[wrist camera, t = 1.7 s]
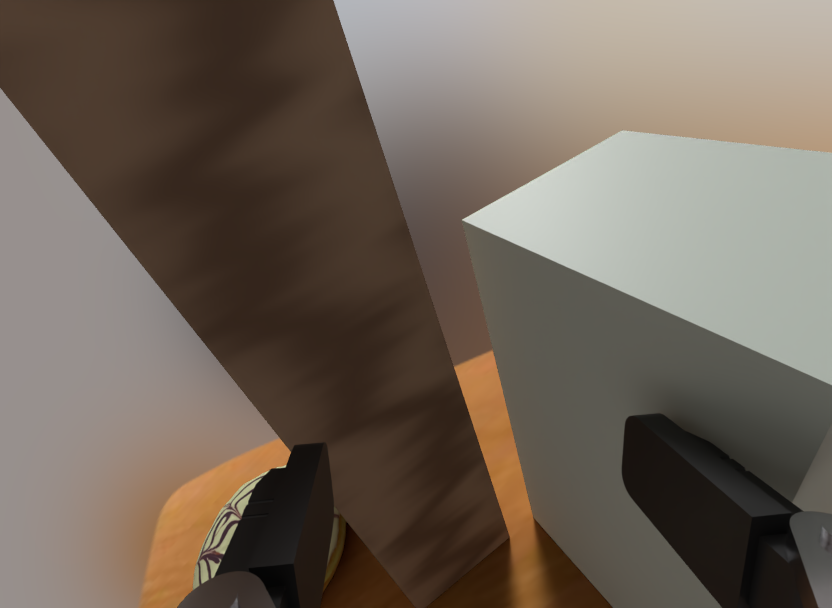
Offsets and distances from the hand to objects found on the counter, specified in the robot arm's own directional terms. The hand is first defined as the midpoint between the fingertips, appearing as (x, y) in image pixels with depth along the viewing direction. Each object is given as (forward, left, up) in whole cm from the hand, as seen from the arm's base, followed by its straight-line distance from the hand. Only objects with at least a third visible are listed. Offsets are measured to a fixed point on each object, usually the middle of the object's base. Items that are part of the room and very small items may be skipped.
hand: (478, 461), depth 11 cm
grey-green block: (-9, -1, -19) cm, 21 cm away
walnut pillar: (+1, -12, -19) cm, 23 cm away
